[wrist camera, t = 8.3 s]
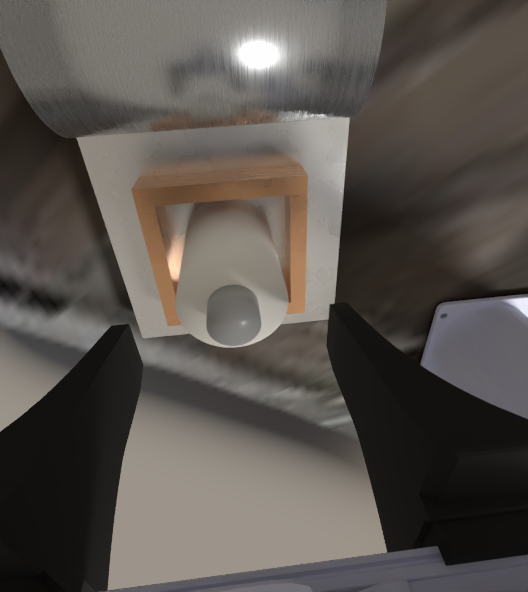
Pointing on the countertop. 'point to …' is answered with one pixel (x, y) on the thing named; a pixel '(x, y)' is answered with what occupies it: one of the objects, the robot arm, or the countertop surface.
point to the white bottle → (230, 276)
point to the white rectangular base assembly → (203, 123)
